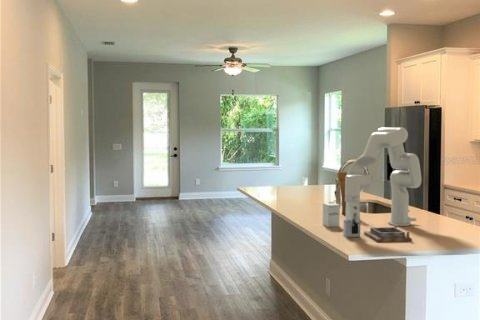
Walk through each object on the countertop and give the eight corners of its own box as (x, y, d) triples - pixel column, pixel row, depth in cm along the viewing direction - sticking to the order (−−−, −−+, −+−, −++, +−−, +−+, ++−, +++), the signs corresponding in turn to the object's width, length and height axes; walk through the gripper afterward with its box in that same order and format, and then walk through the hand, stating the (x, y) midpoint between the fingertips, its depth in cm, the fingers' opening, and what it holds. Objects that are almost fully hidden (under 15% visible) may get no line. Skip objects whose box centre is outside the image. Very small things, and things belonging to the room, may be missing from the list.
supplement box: (327, 227, 276) (328, 205, 276) (322, 224, 284) (322, 203, 283) (339, 226, 278) (340, 204, 278) (333, 224, 286) (334, 202, 285)
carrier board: (396, 233, 260) (396, 225, 260) (411, 241, 242) (412, 232, 242) (363, 234, 258) (364, 225, 258) (376, 242, 240) (376, 233, 240)
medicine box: (358, 235, 256) (358, 219, 255) (360, 237, 251) (360, 220, 251) (343, 235, 256) (343, 219, 255) (345, 237, 251) (345, 220, 251)
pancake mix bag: (349, 218, 305) (350, 173, 303) (335, 213, 323) (336, 170, 321) (359, 217, 306) (359, 173, 305) (345, 212, 325) (345, 170, 323)
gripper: (365, 201, 244) (364, 234, 245) (353, 196, 261) (353, 227, 262) (350, 201, 243) (350, 235, 244) (340, 196, 260) (339, 228, 262)
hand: (351, 231), depth 253 cm, fingers open, 9 cm apart
